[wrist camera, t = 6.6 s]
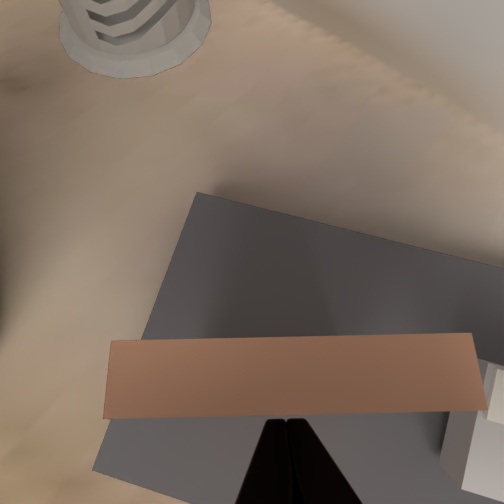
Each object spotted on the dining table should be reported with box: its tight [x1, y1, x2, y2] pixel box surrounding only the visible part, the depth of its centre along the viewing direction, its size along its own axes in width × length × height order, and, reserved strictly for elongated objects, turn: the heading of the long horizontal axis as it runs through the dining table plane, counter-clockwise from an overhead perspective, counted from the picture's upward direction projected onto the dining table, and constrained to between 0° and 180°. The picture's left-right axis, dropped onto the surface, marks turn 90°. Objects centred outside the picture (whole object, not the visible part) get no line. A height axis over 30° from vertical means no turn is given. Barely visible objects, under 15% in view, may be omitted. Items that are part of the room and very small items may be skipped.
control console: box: [92, 192, 504, 504], centre depth 15 cm, size 12×29×4 cm, turn 74°
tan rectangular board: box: [103, 333, 488, 419], centre depth 11 cm, size 1×6×10 cm, turn 91°
